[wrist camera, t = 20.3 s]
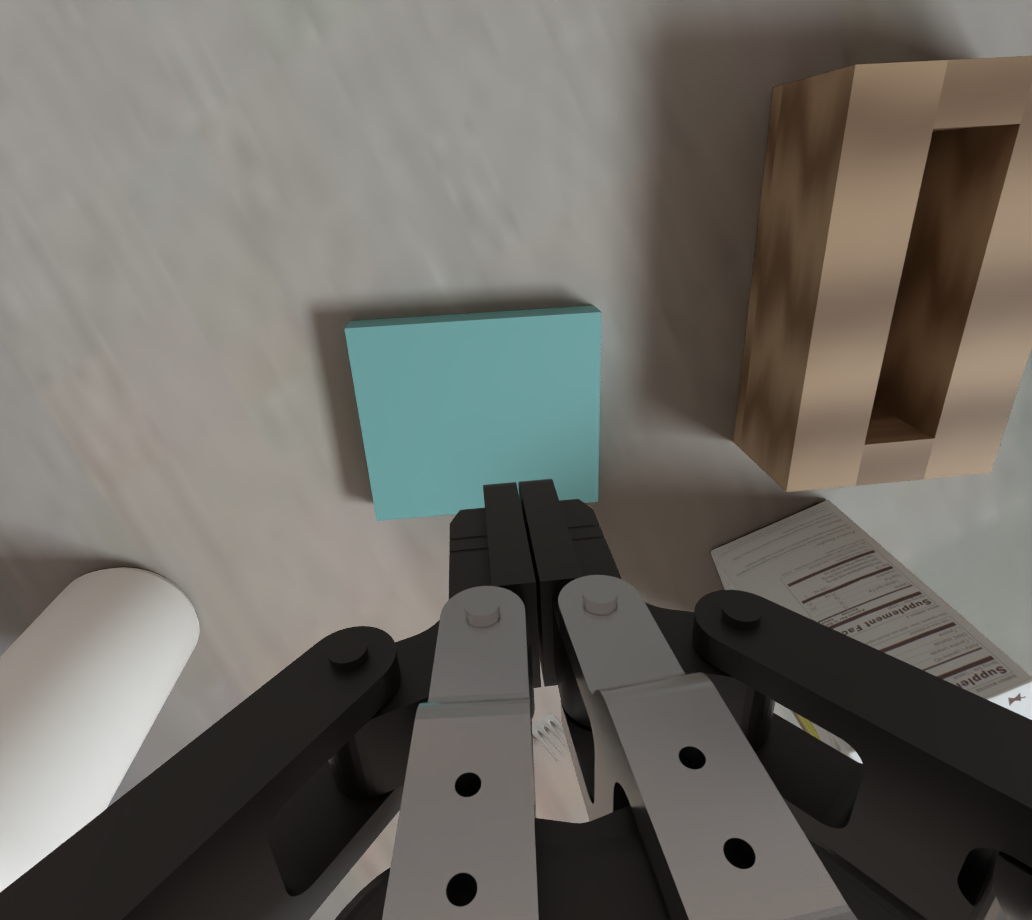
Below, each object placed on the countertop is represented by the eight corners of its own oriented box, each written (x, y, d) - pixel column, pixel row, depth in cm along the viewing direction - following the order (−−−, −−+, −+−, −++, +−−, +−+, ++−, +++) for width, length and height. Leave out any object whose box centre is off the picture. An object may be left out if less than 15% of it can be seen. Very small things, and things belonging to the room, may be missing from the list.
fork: (427, 631, 44) (426, 650, 43) (574, 725, 50) (579, 745, 48) (404, 652, 45) (402, 672, 43) (552, 743, 51) (556, 763, 49)
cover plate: (591, 303, 35) (351, 318, 34) (601, 312, 33) (344, 328, 32) (590, 483, 40) (381, 501, 40) (598, 501, 38) (376, 520, 37)
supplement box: (706, 548, 43) (843, 751, 28) (828, 494, 42) (1040, 674, 27) (742, 638, 47) (879, 857, 32) (854, 591, 46) (1051, 793, 31)
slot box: (773, 87, 31) (855, 64, 25) (993, 76, 32) (1128, 50, 25) (733, 441, 39) (786, 492, 33) (906, 426, 40) (990, 472, 34)
